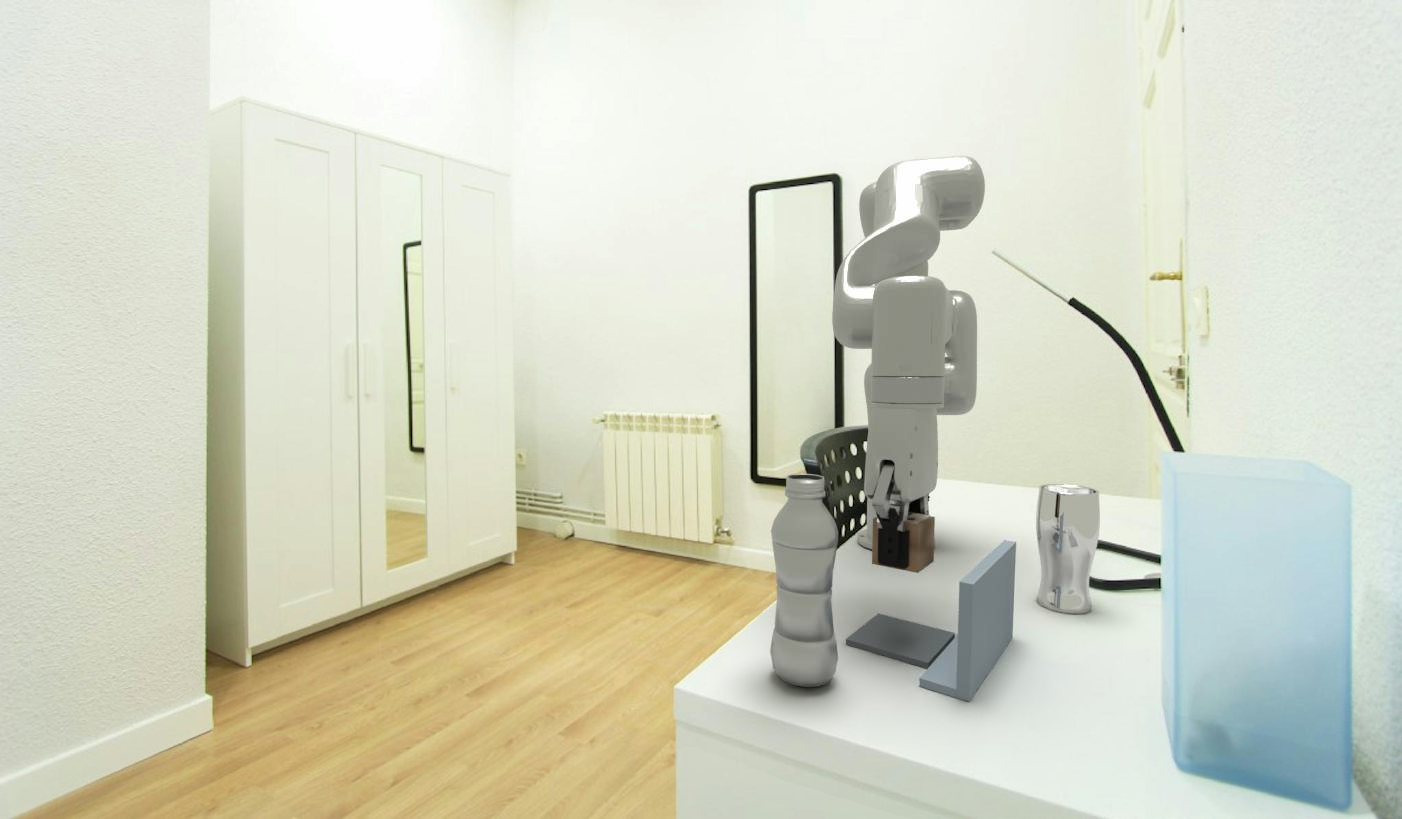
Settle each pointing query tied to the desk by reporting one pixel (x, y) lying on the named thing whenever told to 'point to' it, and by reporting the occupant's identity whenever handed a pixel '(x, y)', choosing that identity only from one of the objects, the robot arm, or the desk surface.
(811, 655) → the plastic bottle
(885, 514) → the robot arm
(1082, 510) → the beer glass
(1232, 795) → the desk surface
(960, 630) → the screen
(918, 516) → the letter cube
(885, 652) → the mat
